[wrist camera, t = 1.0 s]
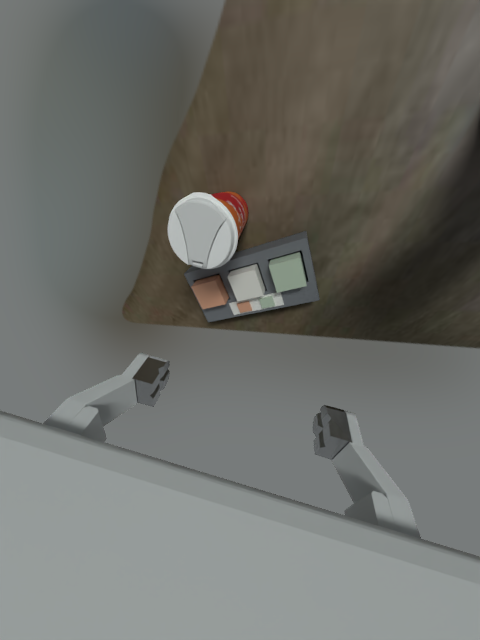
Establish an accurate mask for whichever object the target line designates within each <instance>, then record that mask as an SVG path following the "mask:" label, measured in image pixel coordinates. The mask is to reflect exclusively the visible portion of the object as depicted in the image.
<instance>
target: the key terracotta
mask: <svg viewBox="0 0 480 640" xmlns="http://www.w3.org/2000/svg"><path fill="white" fill-rule="evenodd" d="M191 288H192V289H193V291H194V293H195V295H196V297H197V299H198V301H199V303H200V305H201V307H202V309H207V308H211V307H216V306H220V305H225V304H226V303H227V301H228V299H229V296H228V293H227V291H226V289H225V286H224V284H223V281H222V279H221V277H220V274H218V275H214V276H211V277H207V278H204V279H200V280H196V282H195V283H194V284H193V285H192V286H191Z"/></svg>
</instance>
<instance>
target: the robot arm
mask: <svg viewBox="0 0 480 640" xmlns="http://www.w3.org/2000/svg"><path fill="white" fill-rule="evenodd" d="M169 365H170V364H169V361H167V360H164V359H161V358H157V357H154V356H151V355H148V354H144V353H140V354H138V356H137V357H136V358H135V359H134V360H133V362H132V363H131V364H130V365H129V367H128V368H127V369H126V371H125V372H124V373H123V374H122V375H121V376H120V375H117V376H115V377H113V378H111V379H109V380H107V381H104V382H102V383H100V384H98V385H95V386H93V387H91V388H89V389H87V390H85V391H82V392H80V393H78V394H76V395H74V396H71V397H69V398H67V399H66V400H65V401H64V402H63V403H62V404H61V405H60V407H59V408H58V409H57V410H56V411H55V412H54V413H53V414H52V415H51V416H50V417H49V418H48V419H47V420H46V421H45V422H44V423H43V424H42V423H39V422H35V421H32V420H29V419H26V418H23V417H19V416H16V415H13V414H9V413H6V412H3V411H0V640H480V557H479V556H476V555H473V554H469V553H466V552H463V551H460V550H456V549H453V548H450V547H446V546H443V545H440V544H436V543H433V542H430V541H427V540H423V539H421V537H420V534H419V531H418V528H417V525H416V522H415V519H414V516H413V514H412V510H411V508H410V505H409V502H408V500H407V498H406V497H405V496H404V495H403V493H402V492H401V491H400V489H399V488H398V487H397V485H396V484H395V483H394V482H393V480H392V479H391V478H390V476H389V475H388V474H387V472H386V471H385V470H384V469H383V467H382V466H381V465H380V464H379V462H378V461H377V460H376V458H375V457H374V456H373V454H372V453H371V452H370V451H369V450H368V448H367V447H365V446H364V445H363V441H362V437H361V433H360V429H359V425H358V422H357V417H356V415H355V414H354V413H351V412H348V411H344V410H341V409H337V408H334V407H330V406H326V405H324V406H322V407H321V409H320V410H321V412H320V413H318V414H316V416H315V418H314V421H313V433H314V434H315V436H316V438H315V440H314V450H315V454H316V455H319V456H322V457H325V458H328V459H331V460H332V462H333V464H334V466H335V468H336V470H337V472H338V474H339V475H340V478H341V480H342V481H343V483H344V485H345V487H346V489H347V491H348V493H349V494H350V497H351V498H352V500H353V502H354V504H353V505H351V506H350V507H348V508H347V509H346V510H345V515H341V514H338V513H335V512H331V511H328V510H325V509H322V508H318V507H315V506H312V505H309V504H305V503H302V502H298V501H295V500H292V499H289V498H285V497H282V496H278V495H276V494H272V493H269V492H266V491H263V490H259V489H256V488H253V487H249V486H246V485H242V484H239V483H236V482H233V481H230V480H227V479H223V478H220V477H217V476H213V475H210V474H207V473H203V472H200V471H197V470H194V469H190V468H187V467H184V466H180V465H177V464H174V463H171V462H167V461H164V460H161V459H158V458H154V457H151V456H148V455H144V454H141V453H138V452H135V451H131V450H128V449H125V448H121V447H118V446H114V445H111V444H108V443H105V440H106V434H105V431H104V428H103V426H105V425H106V424H108V423H109V422H111V421H112V420H114V419H115V418H117V417H118V416H119V415H121V414H122V413H124V412H125V411H127V410H128V409H130V408H131V407H133V406H134V405H136V404H137V403H141V404H145V405H149V406H153V407H154V405H155V403H156V401H157V400H158V398H159V396H160V391H161V390H162V389H164V388H165V386H166V384H167V381H168V379H169V370H168V367H169Z"/></svg>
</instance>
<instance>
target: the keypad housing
mask: <svg viewBox="0 0 480 640" xmlns="http://www.w3.org/2000/svg"><path fill="white" fill-rule="evenodd" d="M297 252H300V254H301V258H302V263H303V267H304V272H305V276H306V283H307V286H305V287H300V288H296V289H291V290H287V291H283V292H278V293H277V291H276V288H275V285H274V282H273V278H272V275H271V272H270V268H269V263H270V260H272V259H275V258H279V257H282V256H286V255H290V254H293V253H297ZM254 264H257V265H258V268H259V271H260V274H261V277H262V280H263V283H264V286H265V292H264V296H260V297H256V298H251V299H247V300H242V301H238V302H237V299H236V297H235V294H234V292H233V290H232V287H231V285H230V282H229V280H228V275H229V273H230V272H231V271H232V270H236V269H239V268H243V267H247V266H250V265H254ZM218 274H220V277H221V279H222V281H223V284H224V286H225V289H226V291H227V293H228V296H229V299H228V301H227V303H226V304H225V305H220V306H216V307H211V308H207V309H202V307H201V305H200V303H199V301H198V299H197V297H196V295H195V293H194V291H193V289H192V288H191V289H192V291H193V293H194V295H195V297H196V299H197V301H198V303H199V305H200V307H201V309H202V311H203V313H204V315H205V317H206V319H207V321H208V322H212V321H217V320H222V319H227V318H232V317H237V316H243V315H248V314H253V313H258V312H263V311H268V310H273V309H278V308H283V307H288V306H293V305H298V304H303V303H308V302H313V301H318V300H320V299H319V293H318V287H317V282H316V278H315V273H314V268H313V263H312V258H311V253H310V248H309V243H308V238H307V233H306V231H304V232H301V233H298V234H295V235H291V236H288V237H285V238H282V239H278V240H275V241H272V242H269V243H265V244H262V245H259V246H256V247H252V248H249V249H246V250H243V251H239V252H236V253H234V254H233V256H232V258H231V259H230V260H229V261H228V262H227V263H226V264H224V265H222V266H221V267H218V268H214V269H202V268H198V267H195V266H191V267H190V268H189V269H188V270H187V271H186V272H185V273H184V275H185V277H186V279H187V281H188V283H189V285H190V287H191V286H192V285H193V284H194V283H195V282H196V280H200V279H204V278H207V277H211V276H214V275H218Z"/></svg>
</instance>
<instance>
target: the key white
mask: <svg viewBox="0 0 480 640" xmlns="http://www.w3.org/2000/svg"><path fill="white" fill-rule="evenodd" d="M228 280H229V282H230V285H231V287H232V290H233V292H234V294H235V297H236V299H237V302H238V301H242V300H247V299H251V298H256V297H260V296H264V292H265V286H264V283H263V280H262V277H261V274H260V271H259V268H258V265H257V264H254V265H250V266H247V267H243V268H239V269H236V270H232V271H231V272H230V273H229V275H228Z"/></svg>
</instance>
